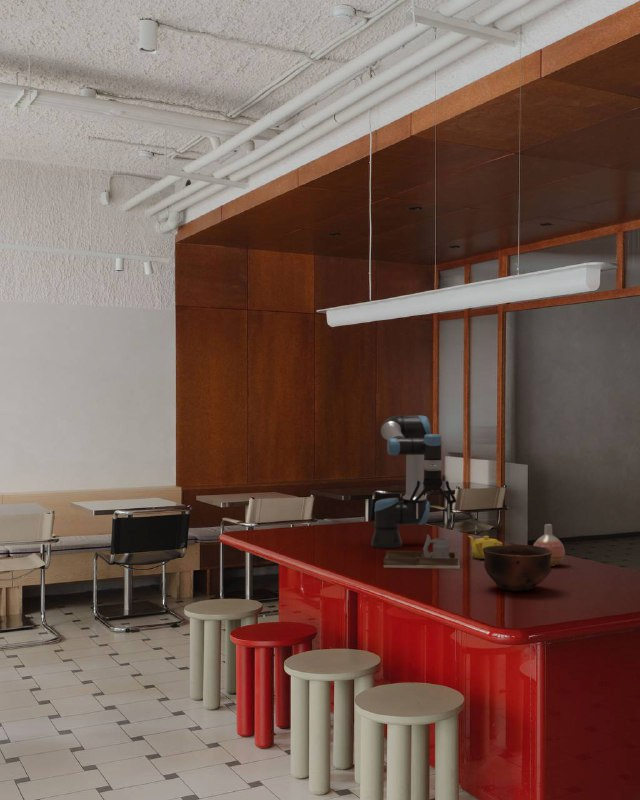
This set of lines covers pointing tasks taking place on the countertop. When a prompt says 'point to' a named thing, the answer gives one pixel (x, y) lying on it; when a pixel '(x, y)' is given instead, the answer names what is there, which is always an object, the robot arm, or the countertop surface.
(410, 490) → the robot arm
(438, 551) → the mug
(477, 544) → the teapot
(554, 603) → the countertop surface
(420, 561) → the rimmed tray
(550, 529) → the vase
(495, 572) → the bowl
